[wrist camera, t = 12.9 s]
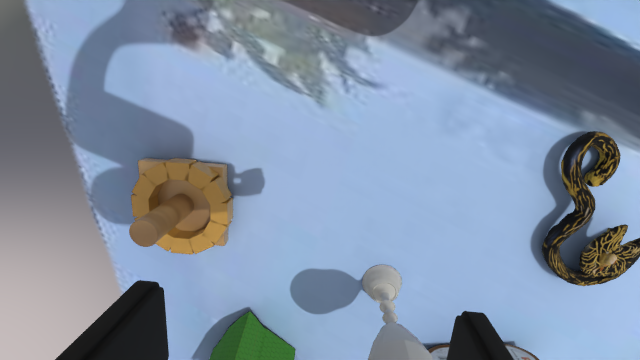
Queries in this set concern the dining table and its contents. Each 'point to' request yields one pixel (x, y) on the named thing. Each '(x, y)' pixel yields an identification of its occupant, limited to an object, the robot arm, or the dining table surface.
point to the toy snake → (604, 251)
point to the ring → (200, 178)
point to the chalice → (391, 318)
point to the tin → (520, 355)
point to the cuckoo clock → (251, 343)
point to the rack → (175, 208)
